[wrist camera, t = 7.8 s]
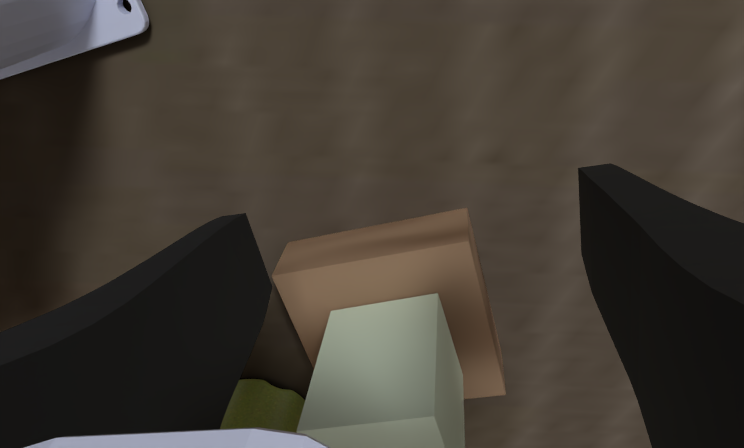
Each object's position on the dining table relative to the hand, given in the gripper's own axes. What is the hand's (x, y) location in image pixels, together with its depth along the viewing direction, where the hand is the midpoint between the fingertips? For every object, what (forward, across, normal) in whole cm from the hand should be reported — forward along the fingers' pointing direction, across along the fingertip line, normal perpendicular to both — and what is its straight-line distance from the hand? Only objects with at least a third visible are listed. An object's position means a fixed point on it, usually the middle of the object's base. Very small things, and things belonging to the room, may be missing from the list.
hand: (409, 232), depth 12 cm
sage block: (+7, +3, +10) cm, 12 cm away
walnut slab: (+10, +3, +9) cm, 14 cm away
